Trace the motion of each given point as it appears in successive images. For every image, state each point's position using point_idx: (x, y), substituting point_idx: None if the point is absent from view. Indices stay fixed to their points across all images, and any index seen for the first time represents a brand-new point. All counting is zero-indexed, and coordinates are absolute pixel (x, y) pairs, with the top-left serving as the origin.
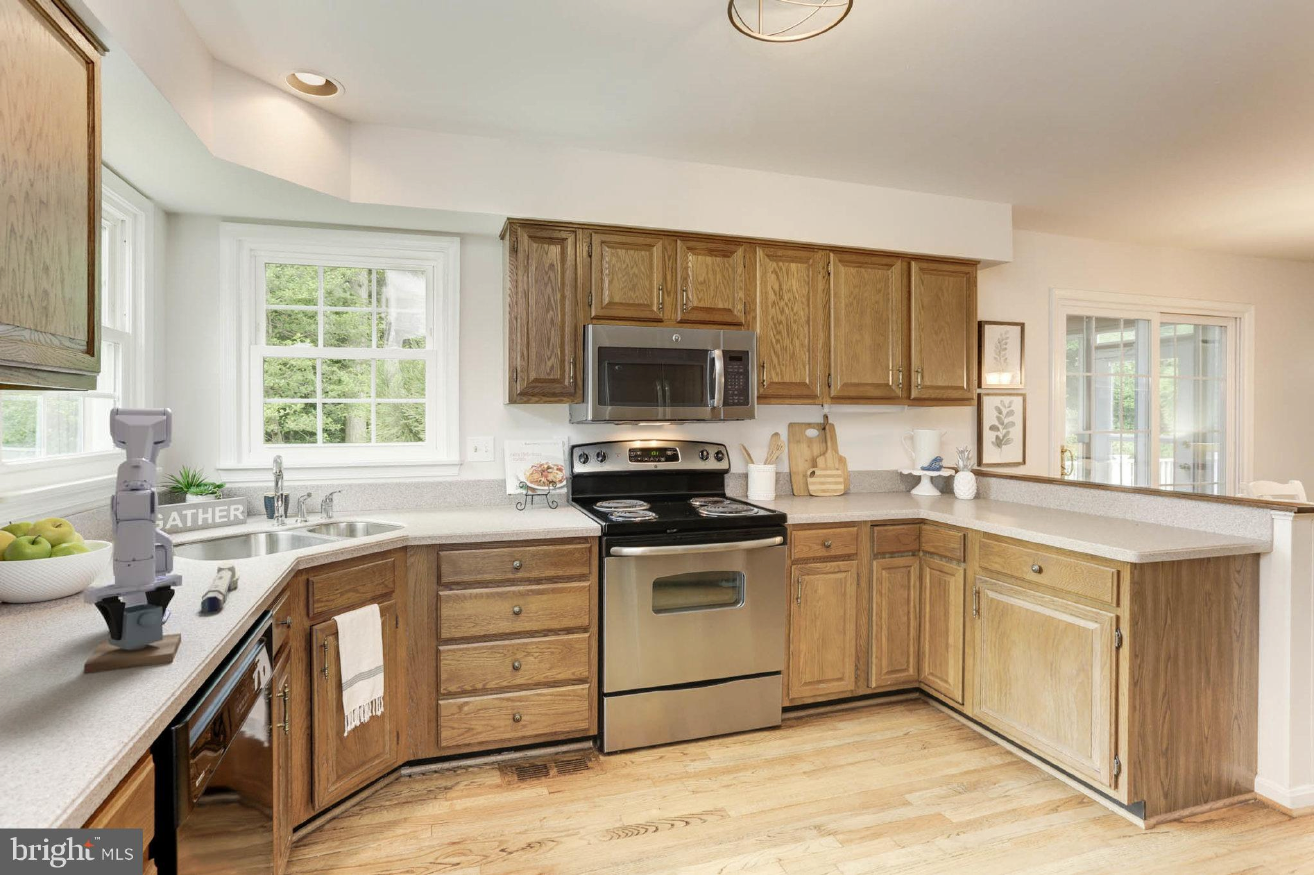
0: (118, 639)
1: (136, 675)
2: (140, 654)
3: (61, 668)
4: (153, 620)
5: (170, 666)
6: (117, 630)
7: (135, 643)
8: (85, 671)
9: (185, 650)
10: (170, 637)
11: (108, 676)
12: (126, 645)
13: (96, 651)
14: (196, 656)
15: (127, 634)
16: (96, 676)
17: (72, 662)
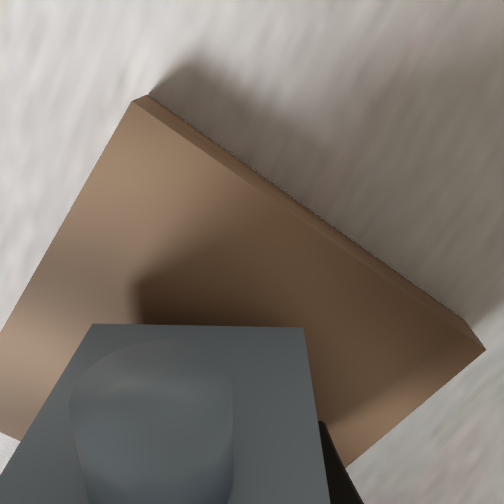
0: (322, 424)
1: (392, 44)
2: (256, 259)
3: (446, 447)
4: (134, 387)
5: (196, 15)
6: (348, 475)
7: (254, 342)
8: (465, 324)
9: (15, 232)
10: (19, 392)
11: (458, 179)
12: (306, 348)
13: None
14: (7, 61)
15: (312, 398)
16: (477, 233)
17: (382, 474)
